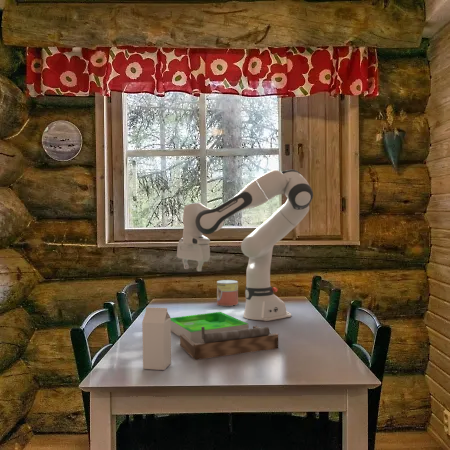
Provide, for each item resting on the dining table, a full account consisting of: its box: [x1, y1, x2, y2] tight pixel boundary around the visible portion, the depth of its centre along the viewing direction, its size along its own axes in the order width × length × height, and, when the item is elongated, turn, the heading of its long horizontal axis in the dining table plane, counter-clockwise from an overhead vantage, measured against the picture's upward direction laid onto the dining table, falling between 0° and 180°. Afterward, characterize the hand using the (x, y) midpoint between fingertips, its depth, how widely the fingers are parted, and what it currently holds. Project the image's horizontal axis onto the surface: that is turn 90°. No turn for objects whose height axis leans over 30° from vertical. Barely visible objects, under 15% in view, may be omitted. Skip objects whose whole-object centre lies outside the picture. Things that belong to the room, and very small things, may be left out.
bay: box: [179, 325, 279, 361], centre depth 168 cm, size 32×18×10 cm, turn 112°
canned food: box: [216, 279, 239, 307], centre depth 245 cm, size 11×11×12 cm
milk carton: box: [141, 306, 172, 371], centre depth 148 cm, size 7×7×19 cm
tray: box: [170, 311, 250, 343], centre depth 190 cm, size 25×25×5 cm
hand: (192, 270), depth 206 cm, fingers open, 8 cm apart
